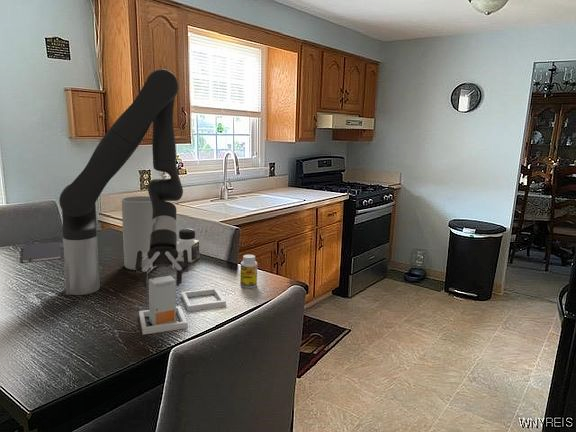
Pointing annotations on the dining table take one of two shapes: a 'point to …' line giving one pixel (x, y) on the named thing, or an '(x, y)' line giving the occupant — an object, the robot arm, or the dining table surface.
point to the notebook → (41, 252)
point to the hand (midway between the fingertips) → (161, 285)
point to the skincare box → (162, 300)
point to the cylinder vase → (136, 228)
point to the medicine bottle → (188, 244)
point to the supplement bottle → (248, 272)
